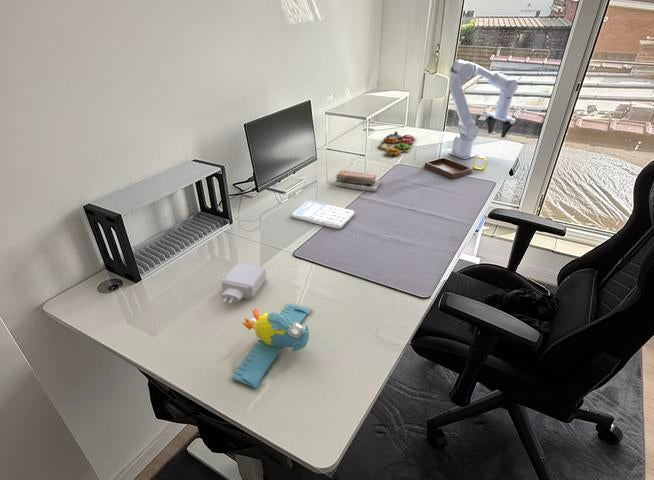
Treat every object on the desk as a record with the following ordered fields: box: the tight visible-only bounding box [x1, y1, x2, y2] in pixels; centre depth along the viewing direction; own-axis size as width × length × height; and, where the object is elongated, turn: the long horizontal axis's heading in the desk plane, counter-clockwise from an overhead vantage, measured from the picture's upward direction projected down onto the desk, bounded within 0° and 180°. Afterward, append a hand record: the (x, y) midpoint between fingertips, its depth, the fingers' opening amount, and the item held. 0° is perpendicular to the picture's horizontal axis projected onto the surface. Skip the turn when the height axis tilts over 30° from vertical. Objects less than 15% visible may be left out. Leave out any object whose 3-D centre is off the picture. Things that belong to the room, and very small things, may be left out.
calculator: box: [291, 200, 355, 230], centre depth 155 cm, size 13×20×2 cm, turn 62°
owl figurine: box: [231, 303, 311, 390], centre depth 99 cm, size 28×9×15 cm
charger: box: [220, 262, 267, 304], centre depth 117 cm, size 5×9×15 cm
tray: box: [424, 156, 473, 180], centre depth 192 cm, size 17×12×2 cm
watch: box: [472, 155, 488, 171], centre depth 192 cm, size 6×3×6 cm, turn 77°
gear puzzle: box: [378, 130, 416, 156], centre depth 217 cm, size 31×16×4 cm, turn 160°
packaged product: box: [334, 170, 381, 193], centre depth 178 cm, size 18×5×10 cm
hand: (496, 135), depth 205 cm, fingers open, 7 cm apart
